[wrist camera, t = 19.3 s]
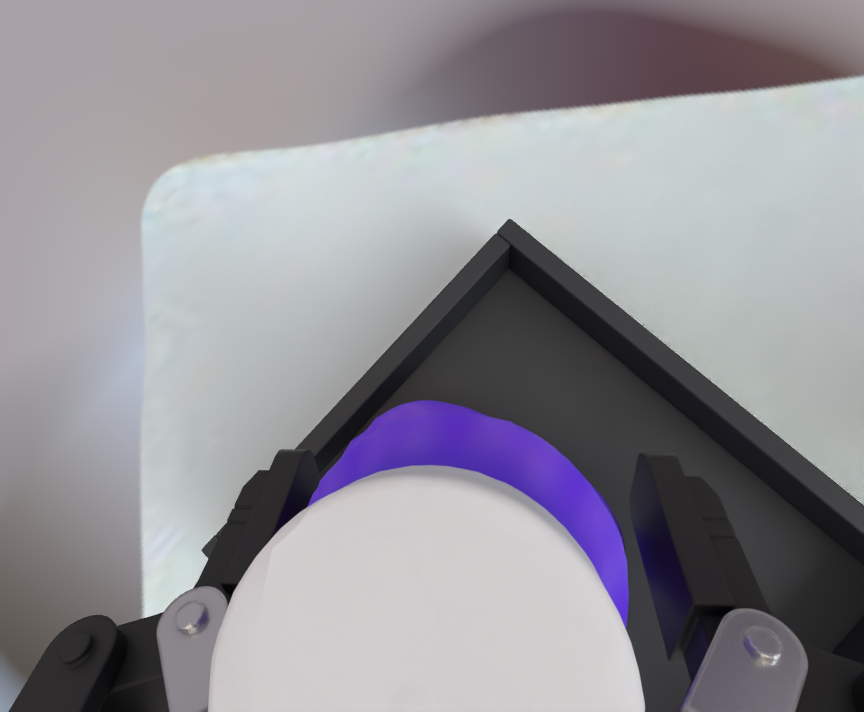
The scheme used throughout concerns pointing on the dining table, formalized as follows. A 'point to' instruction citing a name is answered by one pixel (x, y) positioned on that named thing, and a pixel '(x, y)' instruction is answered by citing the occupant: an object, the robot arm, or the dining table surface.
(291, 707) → the bottle
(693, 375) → the shallow square tray
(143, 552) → the dining table surface
